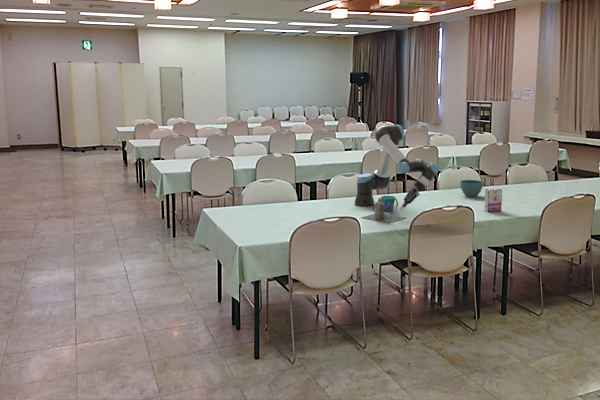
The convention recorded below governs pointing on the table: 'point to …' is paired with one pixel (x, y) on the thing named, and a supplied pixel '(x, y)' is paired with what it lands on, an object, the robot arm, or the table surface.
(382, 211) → the gate
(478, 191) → the teal bowl
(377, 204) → the post
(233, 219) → the table surface
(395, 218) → the mat
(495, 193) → the candy bar box
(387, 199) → the snack cup
